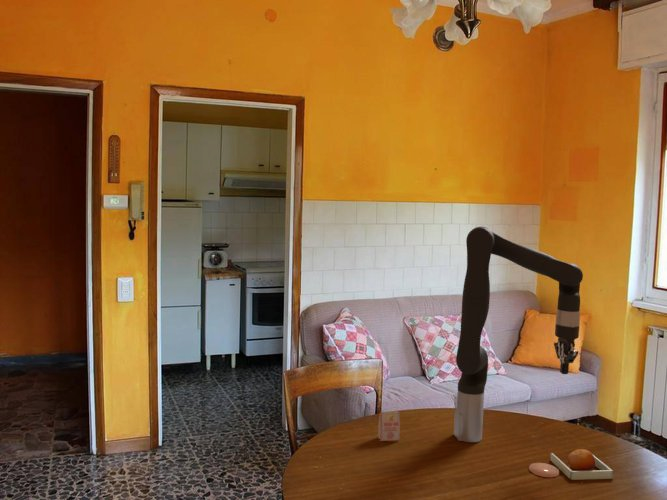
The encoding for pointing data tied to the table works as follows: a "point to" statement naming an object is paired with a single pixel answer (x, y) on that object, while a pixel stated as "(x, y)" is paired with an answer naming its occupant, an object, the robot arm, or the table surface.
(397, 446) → the table surface
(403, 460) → the table surface
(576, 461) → the fruit
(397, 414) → the tea bag
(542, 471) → the pink shiny oval part
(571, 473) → the pale gray u-shaped frame
